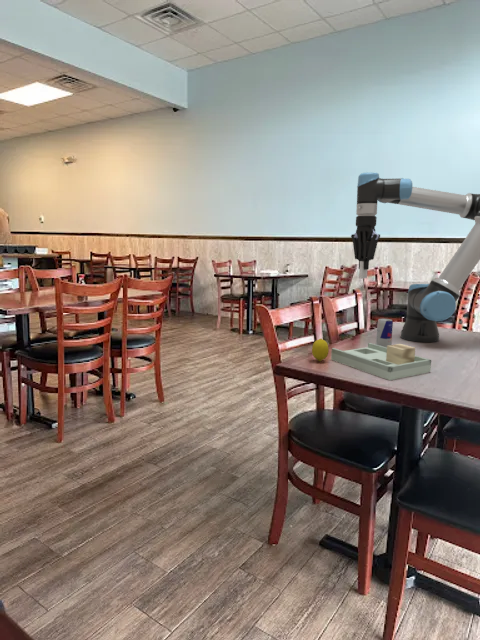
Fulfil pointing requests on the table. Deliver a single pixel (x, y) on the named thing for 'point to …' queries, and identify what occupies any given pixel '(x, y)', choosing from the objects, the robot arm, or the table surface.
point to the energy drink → (384, 332)
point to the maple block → (400, 354)
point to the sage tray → (380, 362)
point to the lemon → (320, 349)
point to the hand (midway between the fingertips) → (363, 278)
